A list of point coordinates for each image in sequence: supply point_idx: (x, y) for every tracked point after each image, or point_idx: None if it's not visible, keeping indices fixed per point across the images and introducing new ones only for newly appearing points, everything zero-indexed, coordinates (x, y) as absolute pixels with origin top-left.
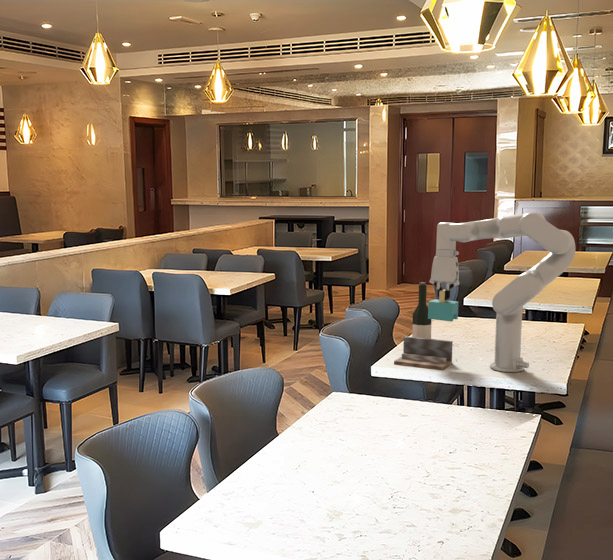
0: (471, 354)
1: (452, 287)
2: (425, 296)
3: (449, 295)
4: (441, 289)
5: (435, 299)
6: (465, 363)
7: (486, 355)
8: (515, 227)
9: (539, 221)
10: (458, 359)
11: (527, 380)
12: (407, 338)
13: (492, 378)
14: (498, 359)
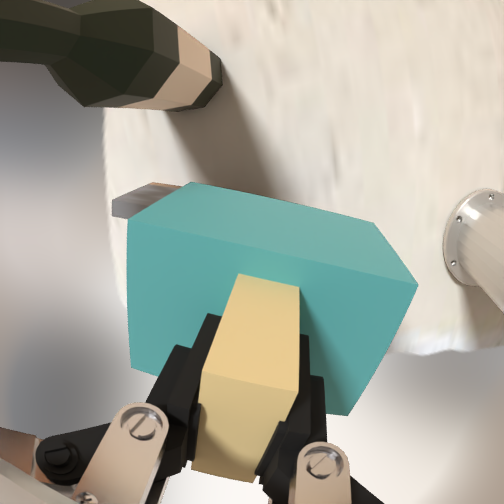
0: (377, 52)
1: (360, 499)
2: (29, 31)
3: (318, 401)
4: (187, 437)
5: (139, 233)
6: (370, 201)
7: (428, 60)
8: None
9: None
10: (341, 144)
11: (491, 335)
12: (128, 217)
13: (426, 346)
14: (472, 277)
